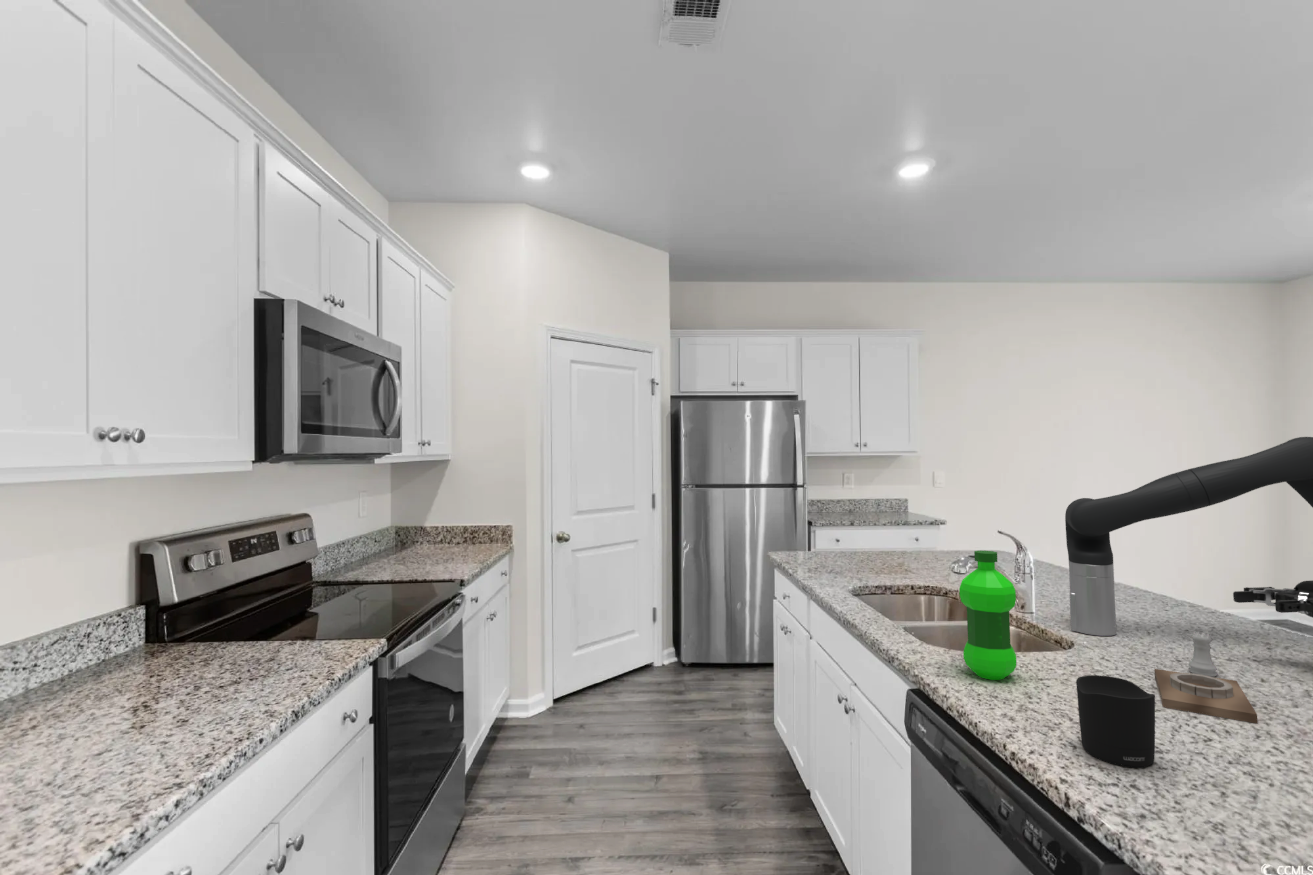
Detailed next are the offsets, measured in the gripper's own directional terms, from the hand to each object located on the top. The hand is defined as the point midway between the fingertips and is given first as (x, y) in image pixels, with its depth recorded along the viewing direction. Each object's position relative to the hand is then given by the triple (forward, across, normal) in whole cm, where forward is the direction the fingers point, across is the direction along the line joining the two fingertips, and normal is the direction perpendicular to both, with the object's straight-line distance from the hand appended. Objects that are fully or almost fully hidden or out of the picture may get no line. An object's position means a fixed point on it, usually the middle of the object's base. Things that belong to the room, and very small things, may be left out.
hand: (1255, 601), depth 123 cm
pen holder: (+54, +31, +14) cm, 63 cm away
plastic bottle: (+54, -2, +14) cm, 56 cm away
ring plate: (+23, +11, +14) cm, 29 cm away
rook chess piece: (+12, 0, +14) cm, 18 cm away
